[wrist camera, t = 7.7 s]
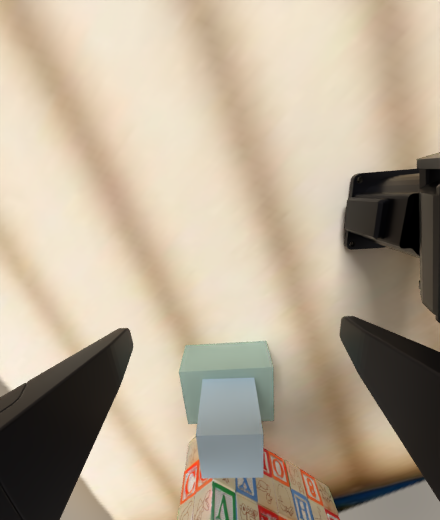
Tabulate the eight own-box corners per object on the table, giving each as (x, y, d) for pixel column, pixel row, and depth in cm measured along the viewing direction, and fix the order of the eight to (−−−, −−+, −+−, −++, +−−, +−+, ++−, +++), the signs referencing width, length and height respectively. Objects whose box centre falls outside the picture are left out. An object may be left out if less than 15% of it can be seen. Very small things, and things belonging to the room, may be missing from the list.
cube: (254, 377, 20) (263, 434, 16) (254, 415, 22) (263, 477, 17) (202, 379, 21) (195, 435, 16) (206, 416, 22) (201, 478, 17)
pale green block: (265, 339, 24) (273, 367, 20) (266, 386, 26) (273, 420, 22) (186, 343, 24) (178, 371, 20) (193, 390, 26) (188, 424, 22)
